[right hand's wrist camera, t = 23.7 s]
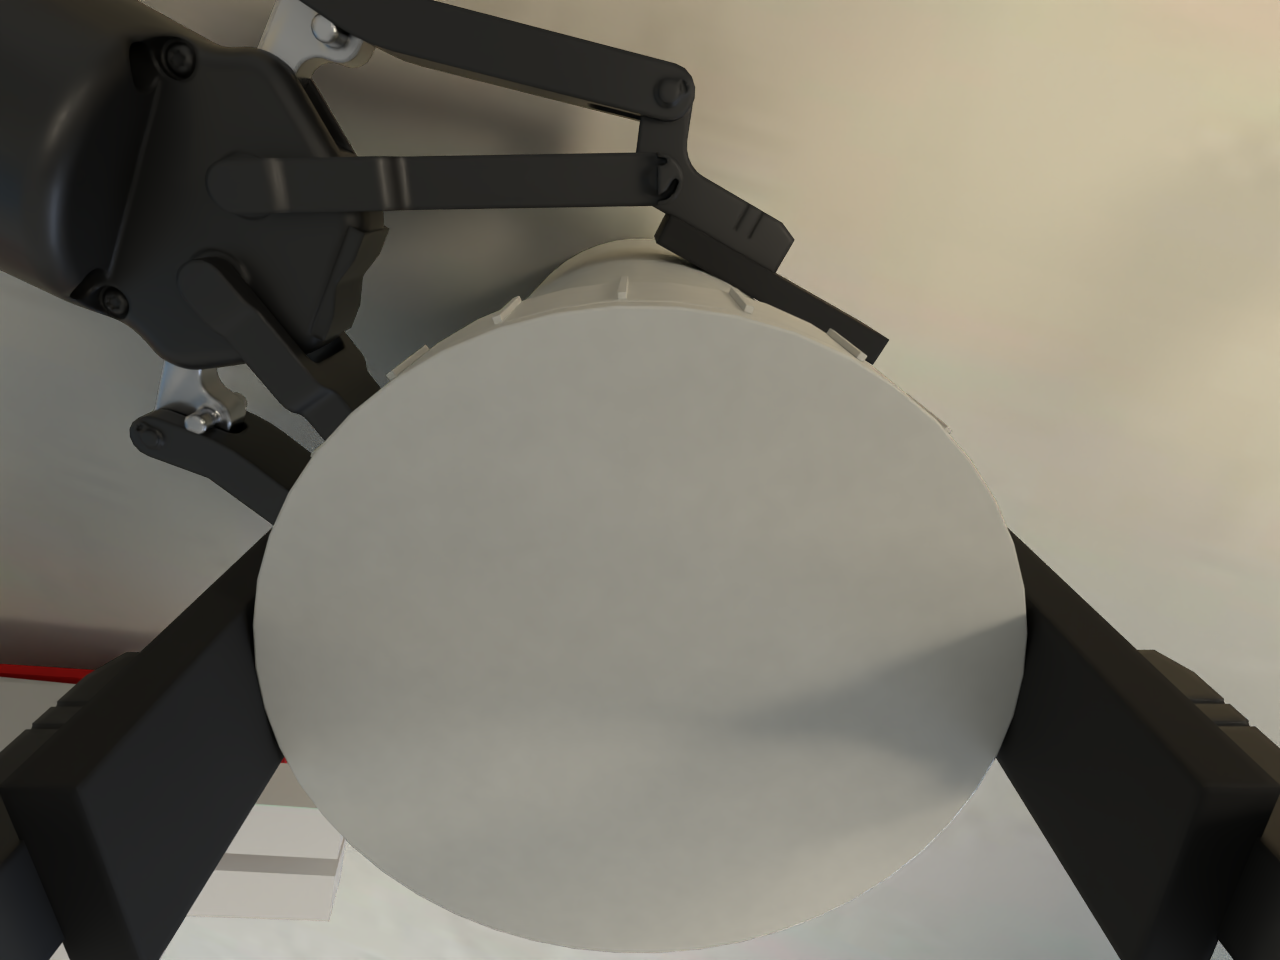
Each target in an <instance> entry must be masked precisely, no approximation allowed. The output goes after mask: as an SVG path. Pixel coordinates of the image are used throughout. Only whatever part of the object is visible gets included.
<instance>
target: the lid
mask: <svg viewBox="0 0 1280 960" xmlns="http://www.w3.org/2000/svg"><path fill="white" fill-rule="evenodd" d="M866 357H867V355H865V354H864V353H863V352H862V351H860V350H859V349H858V348H856V347H855V346H854V345H852V344H851V343H850V342H849V341H847V340H846V339H845V338H843V337H842V336H841V335H839V334H838V333H837V332H836V331H834V330H832V329H831V328H830V329H829V330H828V332H827V334H826V333H825V332H823V331H822V330H820V329H819V328H817V327H815V326H814V325H812V324H811V323H809V322H806V321H804V320H802V319H800V318H797V317H795V316H793V315H791V314H789V313H786V312H784V311H782V310H780V309H777V308H775V307H773V306H771V305H768V304H766V303H763V302H759V301H756V300H752V299H749V298H746V297H745V296H744V295H743V294H742V293H741V292H740V291H739V290H738V289H737V288H733V287H731V288H730V292H729V293H728V292H725V291H722V290H717V289H710V288H704V287H697V286H690V285H683V284H677V283H668V282H628V276H621V277H620V282H615V283H607V284H598V285H590V286H582V287H574V288H568V289H564V290H561V291H557V292H553V293H549V294H545V295H542V296H538V297H534V298H530V299H526V300H523V301H521V298H520V296H517V297H514V298H513V299H512V300H510V301H509V302H508V303H507V304H506V305H505V306H504V307H503V308H502V309H501V310H499V311H496V312H494V313H491V314H489V315H487V316H484V317H482V318H479V319H477V320H476V321H474V322H472V323H471V324H469V325H467V326H466V327H464V328H462V329H461V330H459V331H457V332H455V333H454V334H452V335H450V336H449V337H447V338H445V339H444V340H442V341H440V342H439V343H437V344H436V345H435V346H433V347H432V348H431V349H429V348H428V346H427V345H424V346H423V347H422V348H420V349H419V350H418V351H416V352H415V353H414V354H413V355H411V356H410V357H409V358H407V359H406V360H405V361H403V362H402V363H401V364H400V365H398V366H397V367H396V368H394V369H393V370H392V371H390V372H389V373H388V374H386V376H387V378H388V379H389V380H390V382H389V383H388V384H386V385H385V386H384V387H383V388H381V389H380V390H379V391H378V392H376V393H375V394H374V395H373V396H371V397H370V398H369V399H368V400H366V401H365V402H364V403H363V404H361V405H360V406H359V407H358V408H356V409H355V410H354V411H353V412H352V413H351V414H350V415H349V416H348V417H347V418H346V419H345V420H344V421H343V422H342V423H341V424H340V426H339V427H338V428H337V429H336V430H335V431H334V432H333V433H332V434H331V435H330V436H329V438H328V439H327V440H326V441H325V442H324V443H322V444H321V445H320V446H319V447H318V448H316V449H315V450H314V451H313V453H312V454H311V456H310V457H312V458H311V459H310V461H309V463H308V464H307V466H306V467H305V469H304V470H303V472H302V473H301V475H300V476H299V478H298V479H297V481H296V482H295V484H294V485H293V487H292V488H291V490H290V491H289V493H288V495H287V497H286V499H285V502H284V504H283V506H282V508H281V510H280V513H279V515H278V517H277V519H276V522H275V524H274V526H273V528H272V530H271V533H270V535H269V538H268V542H267V545H266V549H265V553H264V557H263V560H262V564H261V568H260V571H259V575H258V579H257V588H256V598H255V608H254V618H253V636H254V653H255V668H256V672H257V677H258V682H259V686H260V691H261V695H262V700H263V705H264V709H265V711H266V714H267V717H268V719H269V722H270V725H271V727H272V730H273V732H274V735H275V738H276V740H277V743H278V746H279V748H280V750H281V751H282V753H283V755H284V757H285V759H286V761H287V762H288V764H289V766H290V768H291V770H292V771H293V773H294V775H295V777H296V779H297V780H298V782H299V784H300V785H301V787H302V788H303V789H304V791H305V792H306V793H307V795H308V796H309V797H310V799H311V800H312V801H313V803H314V804H315V805H316V807H317V808H318V810H319V811H320V812H321V814H322V815H323V816H324V817H325V818H326V819H327V820H328V821H329V823H330V824H331V825H332V826H333V827H334V828H335V829H336V830H337V831H338V832H339V833H340V834H341V835H342V836H343V837H344V838H345V839H346V840H347V841H348V843H349V844H350V845H351V846H353V847H354V848H355V849H356V850H357V851H359V852H360V853H361V854H362V855H363V856H365V857H366V858H367V859H368V860H369V861H371V862H372V863H373V864H374V865H375V866H377V867H378V868H379V869H380V870H381V871H383V872H384V873H385V874H387V875H389V876H390V877H392V878H393V879H395V880H396V881H398V882H399V883H401V884H402V885H404V886H405V887H407V888H408V889H410V890H411V891H413V892H414V893H416V894H417V895H419V896H421V897H423V898H425V899H427V900H429V901H431V902H433V903H435V904H437V905H438V906H440V907H442V908H444V909H446V910H448V911H450V912H452V913H454V914H456V915H459V916H461V917H464V918H466V919H469V920H471V921H474V922H476V923H479V924H481V925H484V926H486V927H489V928H491V929H494V930H498V931H501V932H505V933H508V934H511V935H515V936H518V937H522V938H525V939H529V940H532V941H537V942H542V943H547V944H553V945H558V946H563V947H568V948H573V949H583V950H593V951H603V952H614V953H663V952H675V951H688V950H699V949H705V948H711V947H716V946H722V945H728V944H733V943H739V942H743V941H747V940H750V939H754V938H758V937H761V936H765V935H769V934H772V933H776V932H780V931H782V930H785V929H788V928H790V927H793V926H796V925H798V924H801V923H804V922H806V921H809V920H812V919H814V918H817V917H819V916H821V915H823V914H825V913H827V912H829V911H831V910H833V909H835V908H837V907H839V906H842V905H844V904H846V903H848V902H850V901H852V900H854V899H856V898H857V897H859V896H860V895H862V894H864V893H865V892H867V891H868V890H870V889H872V888H873V887H875V886H876V885H878V884H879V883H881V882H883V881H884V880H886V879H887V878H889V877H891V876H892V875H893V874H894V873H896V872H897V871H898V870H899V869H901V868H902V867H903V866H904V865H906V864H907V863H908V862H909V861H911V860H912V859H913V858H914V857H916V856H917V855H918V854H919V853H921V852H922V851H923V850H924V849H925V848H926V847H927V846H928V845H929V844H930V843H931V842H932V841H933V840H934V839H935V838H936V837H937V836H938V835H939V834H940V833H941V832H942V831H943V830H944V829H945V828H946V827H947V826H948V825H949V824H950V823H951V822H952V821H953V820H954V818H955V817H956V816H957V814H958V813H959V812H960V811H961V809H962V808H963V807H964V805H965V804H966V803H967V802H968V800H969V799H970V798H971V796H972V795H973V794H974V793H975V791H976V790H977V788H978V787H979V785H980V783H981V782H982V780H983V778H984V776H985V775H986V773H987V771H988V770H989V768H990V766H991V765H992V763H993V761H994V759H995V758H996V756H997V754H998V752H999V750H1000V747H1001V745H1002V742H1003V740H1004V738H1005V735H1006V733H1007V730H1008V728H1009V725H1010V723H1011V721H1012V718H1013V716H1014V712H1015V708H1016V704H1017V700H1018V696H1019V691H1020V687H1021V683H1022V679H1023V675H1024V665H1025V654H1026V644H1027V619H1026V604H1025V589H1024V584H1023V580H1022V576H1021V571H1020V567H1019V563H1018V559H1017V554H1016V550H1015V546H1014V543H1013V540H1012V538H1011V535H1010V533H1009V531H1008V528H1007V526H1006V523H1005V521H1004V518H1003V516H1002V514H1001V511H1000V509H999V506H998V504H997V502H996V500H995V498H994V496H993V495H992V493H991V492H990V490H989V488H988V487H987V485H986V483H985V482H984V480H983V479H982V477H981V475H980V474H979V472H978V471H977V469H976V467H975V466H974V464H973V462H972V461H971V459H970V458H969V457H968V456H967V454H966V453H965V452H964V451H963V450H962V449H961V448H960V446H959V445H958V444H957V443H956V442H955V441H954V439H953V438H952V437H951V436H950V435H949V434H950V433H951V432H952V430H951V429H950V428H949V427H948V426H947V425H946V424H945V423H943V422H942V421H941V420H940V419H938V418H937V417H936V416H935V415H933V414H932V413H931V412H930V411H928V410H927V409H926V408H925V407H923V406H922V405H921V404H920V403H918V402H917V401H916V400H915V399H913V398H912V397H911V396H910V395H908V394H907V393H905V392H904V391H902V390H901V389H900V388H899V387H898V386H897V385H895V384H894V383H893V382H892V381H890V380H889V379H888V378H886V377H885V376H884V375H883V374H882V373H880V372H879V371H878V370H876V369H875V368H874V367H873V366H871V365H870V364H869V363H868V362H866V361H865V359H866Z"/></svg>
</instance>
